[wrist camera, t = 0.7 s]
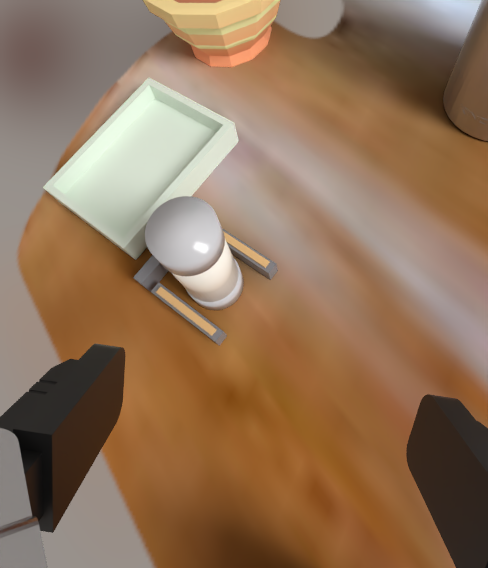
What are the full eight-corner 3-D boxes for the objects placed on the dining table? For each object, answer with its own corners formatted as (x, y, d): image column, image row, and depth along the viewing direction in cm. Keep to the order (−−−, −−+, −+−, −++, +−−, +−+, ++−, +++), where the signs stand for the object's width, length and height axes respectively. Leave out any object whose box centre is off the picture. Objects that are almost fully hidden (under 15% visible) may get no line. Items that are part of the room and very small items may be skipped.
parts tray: (157, 96, 41) (148, 77, 39) (238, 141, 38) (234, 122, 35) (58, 201, 38) (42, 187, 36) (135, 260, 35) (123, 248, 33)
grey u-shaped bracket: (199, 218, 35) (193, 207, 34) (277, 270, 33) (275, 261, 31) (142, 285, 34) (133, 277, 32) (219, 345, 31) (213, 340, 29)
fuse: (213, 249, 34) (178, 184, 25) (254, 277, 33) (233, 219, 23) (179, 290, 33) (130, 238, 24) (220, 321, 32) (184, 278, 23)
